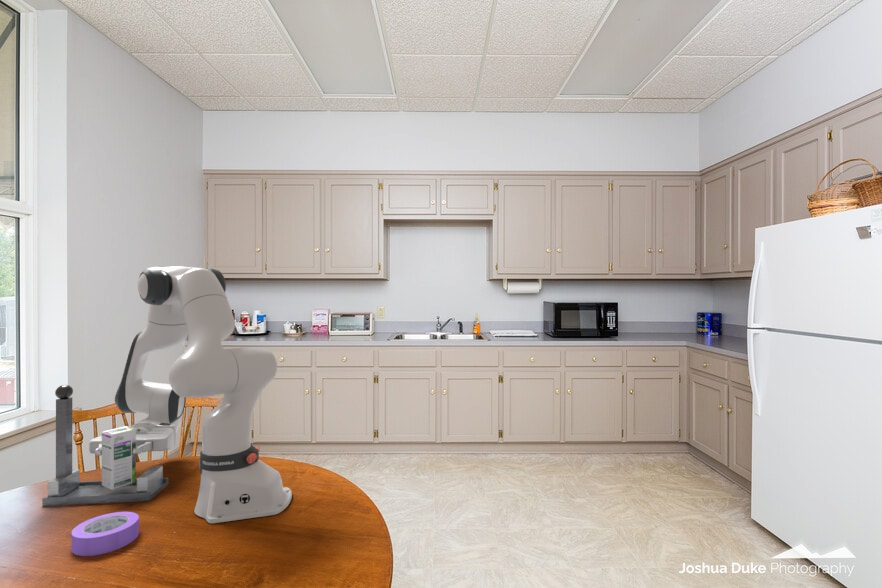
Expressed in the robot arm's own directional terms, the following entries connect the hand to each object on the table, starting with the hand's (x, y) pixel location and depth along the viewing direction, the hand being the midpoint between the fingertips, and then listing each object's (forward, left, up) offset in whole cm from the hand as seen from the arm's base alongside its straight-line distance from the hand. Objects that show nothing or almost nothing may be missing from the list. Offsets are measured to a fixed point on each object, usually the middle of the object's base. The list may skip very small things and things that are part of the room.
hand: (116, 452), depth 120 cm
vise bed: (+2, -1, -11) cm, 12 cm away
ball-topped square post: (+13, -1, -10) cm, 17 cm away
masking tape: (-11, +23, -12) cm, 28 cm away
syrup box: (0, -1, -9) cm, 9 cm away
